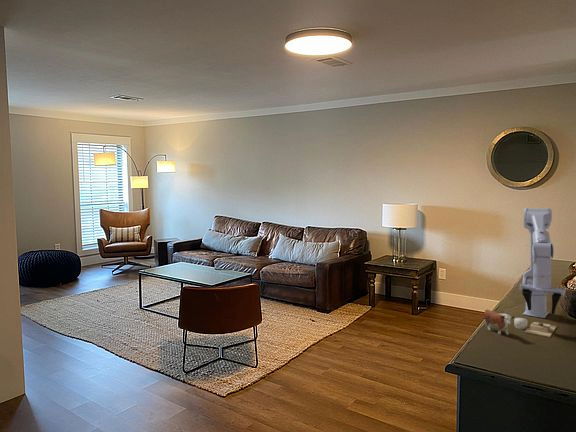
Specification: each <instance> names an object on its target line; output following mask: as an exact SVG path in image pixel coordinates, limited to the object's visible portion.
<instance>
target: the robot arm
mask: <svg viewBox="0 0 576 432" xmlns="http://www.w3.org/2000/svg"><path fill="white" fill-rule="evenodd" d="M522 213H523V214H522V215H523V217H522V218H523V228H524V229H526V230H528V232H529V238H530V239H529V244H530V245H529V246H530V247H529V249H530V250H529V251H530V253H529V255H530V256H529V257H530V258H529V260H530V261H529V262H530V264H529V265H530V267H529V269H528V270H526V271H524V272H523V274H522V281H521V283H520V284H519V291H522V292H521V293H522V296H523V298H524V300H525V310H524V312H523V313H522V315H523V316H529V317H535V318H543V319H545V318H546V317H547V315H548V314H549V313H550V311H547V296H548V294H552V295H551V315H554V314H555V313H556V308H557V305H558V302H559V301H560V300H561V297H563V296H566V289H565V288H559V287H554V286H552V261H553V260H552V259H553V258H554V252H555V250H554V244H553V242H552V241H551V237H550V233H549V231H548V229H549V228H550V226H551V222H552V220H553V219H552V218H553V217H552V215H553V213H552V209H551V208H550V207H548V208H544V207H543V208H540V207H536V208H533V207H531V208H529V207H525V208H524V209H523V212H522Z"/></svg>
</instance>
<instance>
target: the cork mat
mask: <svg viewBox="0 0 576 432" xmlns="http://www.w3.org/2000/svg"><path fill="white" fill-rule="evenodd" d="M534 322H535V321H534ZM534 322H531V324H529V326H527V329H525V330H524V334H527V335H528V334H529V335H533V336H539V337H544V338H549V339H550V338H551V337H552V335H553V333H554V332H555V330H556V329H557V327H558V326H557V325H552V324H550V325H551V328H550V330H549V332H542V331H536V330H531V325H532V324H533V323H534Z"/></svg>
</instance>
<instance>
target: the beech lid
mask: <svg viewBox="0 0 576 432" xmlns="http://www.w3.org/2000/svg"><path fill="white" fill-rule="evenodd" d="M532 323H533V322H532ZM532 323H531V324H532ZM531 324H530V325H531ZM551 325H552V324H549V323H542V322H536V321H534V323H533V324H532V325H531V330H536V331H542V332H549V330H550V328H551Z"/></svg>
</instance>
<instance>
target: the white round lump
mask: <svg viewBox="0 0 576 432" xmlns="http://www.w3.org/2000/svg"><path fill="white" fill-rule="evenodd" d="M513 319H514V323H513V325H514V328H515V329H519V330H527V328H528V319H526V318H523V317H514V318H513Z"/></svg>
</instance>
